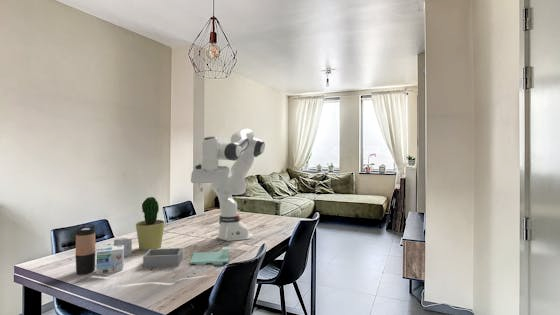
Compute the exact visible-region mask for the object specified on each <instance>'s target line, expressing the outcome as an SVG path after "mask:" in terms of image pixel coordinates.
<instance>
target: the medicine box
mask: <svg viewBox="0 0 560 315" xmlns="http://www.w3.org/2000/svg"><path fill="white" fill-rule="evenodd" d="M121 245H124V258H128V257H130V256H131V255H132V254H133V253H132V251H133V247H132V246H133V244H132V238H125V237H119V238H116V239H114V240H113V246H121Z"/></svg>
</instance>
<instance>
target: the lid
mask: <svg viewBox="0 0 560 315" xmlns="http://www.w3.org/2000/svg"><path fill="white" fill-rule="evenodd" d="M228 254H229V246H222V250H221V251H205V252H203V251H202V252H193V255H192V257H191V259H190V262H189V264H190V265H191V264H192V265H194V264H195V266H201V265H202V266H203V265H207V264H212V265H213V266H214V265H221V264H223V262H228Z"/></svg>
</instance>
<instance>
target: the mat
mask: <svg viewBox="0 0 560 315" xmlns="http://www.w3.org/2000/svg"><path fill="white" fill-rule="evenodd" d="M229 256H230V255H229V253H228V262H223V264H221V265H213V266H214V267H219V266H220V267H222V266H227V265H226V264H228V263H229V261H230V260H229V259H230V257H229ZM228 265H229V264H228Z"/></svg>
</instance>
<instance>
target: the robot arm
mask: <svg viewBox="0 0 560 315" xmlns="http://www.w3.org/2000/svg"><path fill="white" fill-rule="evenodd" d="M254 136H255V134H254V132H253V131H252V129H249V128H242V129H239V130H237V131H236V132H234V133H232V134H231V136H230V142H220V141H219V140H218V137H217V136H207V137H204V138H202V139H203V140H202V143H201V144H202V145H201V146H202V147H201V154H202V157H201V158H202V159H201V163H198V164H197V163H196V164H195V165H193V167H192V168H193V170H192V172H191V175H190V182H191V184H197V186H198V188H199V192H203V191H204V190H203V189H204V188H203V187H202V186H201V185H202V184H211V188H212V190H213V191H214V193H215V194H216V196H217V197H218V198H217V199H218V202H219V218H218V223H219V227H218V233H217V238H218V239H220V240H222V241H223V240H224V241H227V242H230V241H241V240H250V239H252V237H253V234H252V233H251V232H250V231H249V228H248V227H249V226H248V225H247V224H245V223H244V222H243V221H241V220H242V217H241V216H240V215H239V214H238V202H237V201H236V200H235V199H234V198H233V195H234V196H239V195H244V193H245V192H246V191H247V182H246V180H245V178H246V176H247V174H248V173H249V171H250V169H251V168H252V165H253V164H254V160H255V158H257V157H259V156H260V155H262V154H263V153H264V152H265V148H266V143H265V141H263V140H262V139H258V138H256V137H254ZM219 160H220V161H222V160H223V161H235V162H234V163H233V165H232V166H231V167H230V168H229V167H228V166H227V165H223V166H222V165H219ZM230 173H231V176H230V177H229V174H230Z"/></svg>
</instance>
